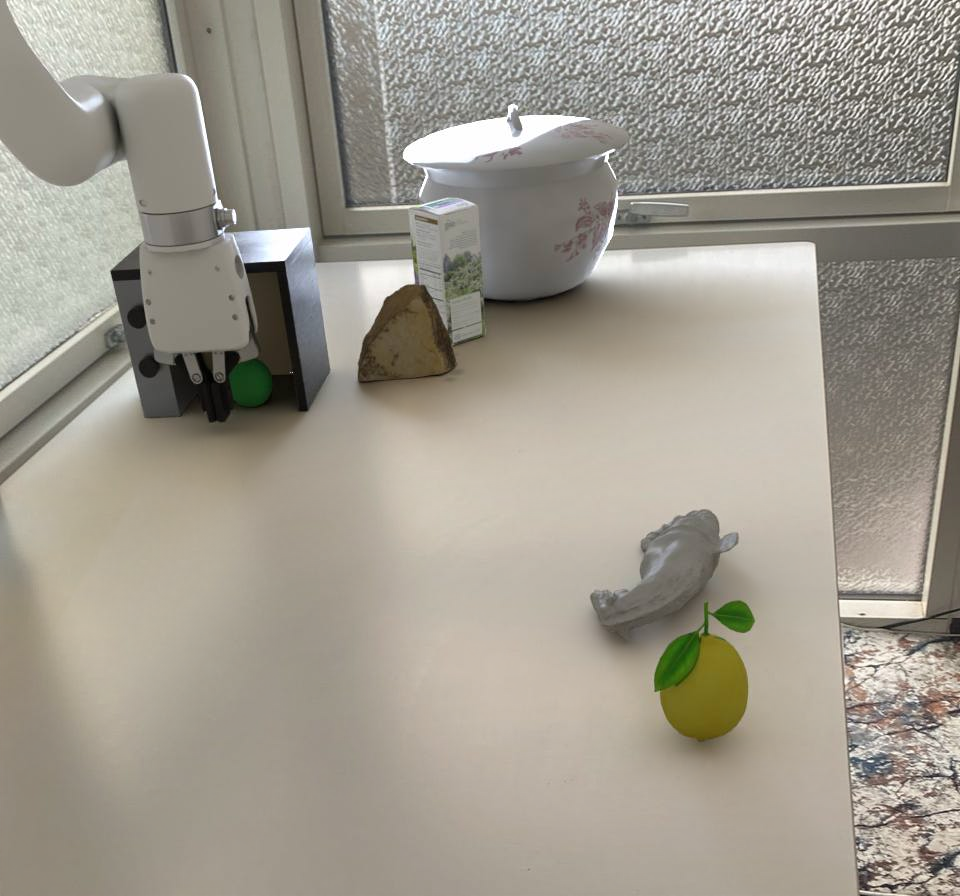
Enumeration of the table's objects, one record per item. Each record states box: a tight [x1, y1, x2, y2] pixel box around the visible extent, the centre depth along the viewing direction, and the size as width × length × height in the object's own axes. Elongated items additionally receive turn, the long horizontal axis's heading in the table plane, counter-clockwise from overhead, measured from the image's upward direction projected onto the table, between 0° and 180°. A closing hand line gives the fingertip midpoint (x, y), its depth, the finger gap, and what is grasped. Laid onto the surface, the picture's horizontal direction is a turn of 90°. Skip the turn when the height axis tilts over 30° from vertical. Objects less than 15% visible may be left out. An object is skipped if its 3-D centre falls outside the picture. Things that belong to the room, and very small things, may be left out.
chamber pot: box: [402, 103, 630, 302], centre depth 165 cm, size 28×28×21 cm
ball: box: [229, 358, 274, 408], centre depth 142 cm, size 5×5×5 cm
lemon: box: [653, 599, 756, 742], centre depth 83 cm, size 7×6×10 cm
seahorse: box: [589, 508, 740, 641], centre depth 102 cm, size 5×12×20 cm
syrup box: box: [408, 198, 486, 347], centre depth 152 cm, size 6×6×14 cm
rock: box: [357, 283, 458, 382], centre depth 146 cm, size 11×9×10 cm
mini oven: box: [109, 227, 331, 419], centre depth 142 cm, size 18×14×15 cm
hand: (220, 417), depth 137 cm, fingers closed
